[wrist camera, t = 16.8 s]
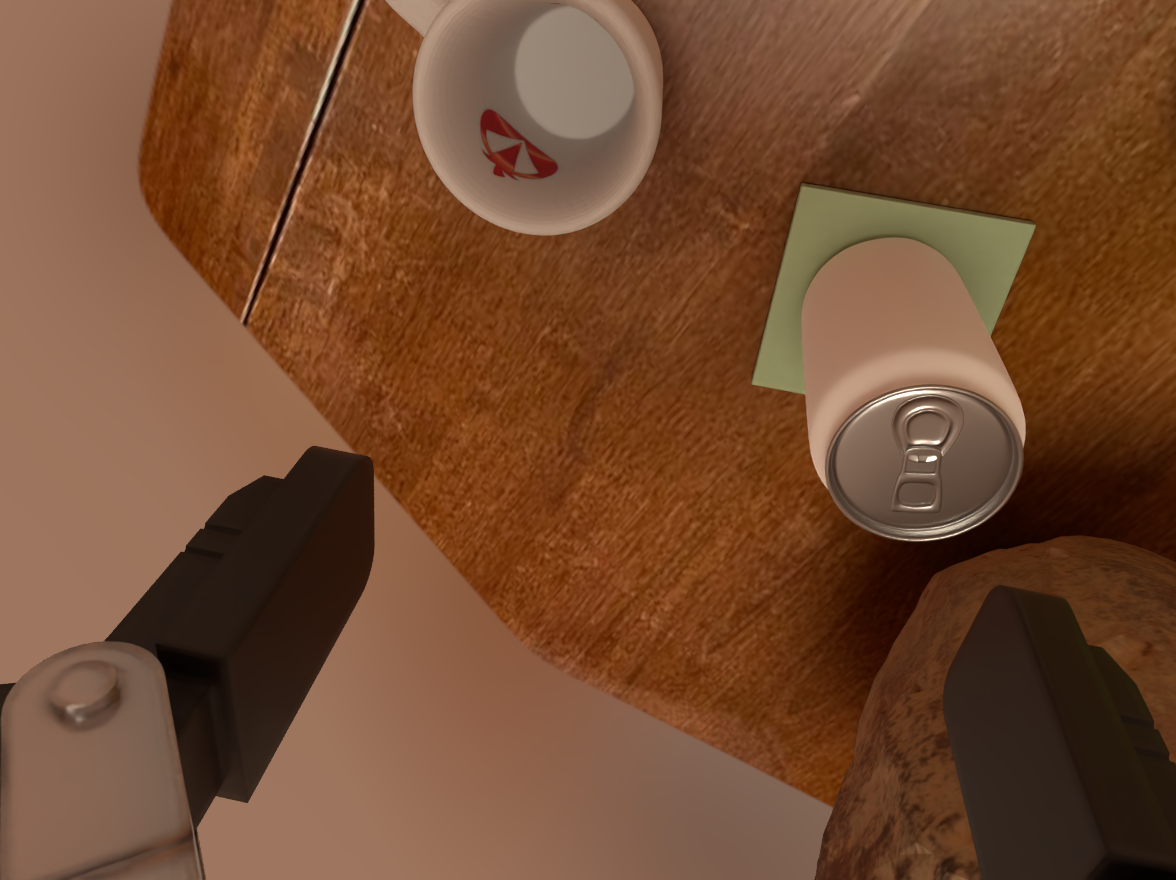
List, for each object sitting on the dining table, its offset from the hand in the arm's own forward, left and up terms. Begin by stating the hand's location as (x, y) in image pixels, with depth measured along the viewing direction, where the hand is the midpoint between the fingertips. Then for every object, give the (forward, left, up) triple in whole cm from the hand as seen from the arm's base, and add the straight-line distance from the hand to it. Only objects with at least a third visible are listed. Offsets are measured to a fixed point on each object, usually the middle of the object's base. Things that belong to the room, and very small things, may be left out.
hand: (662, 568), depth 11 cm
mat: (+7, -6, -27) cm, 28 cm away
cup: (-8, +2, -27) cm, 28 cm away
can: (+7, -6, -26) cm, 28 cm away
